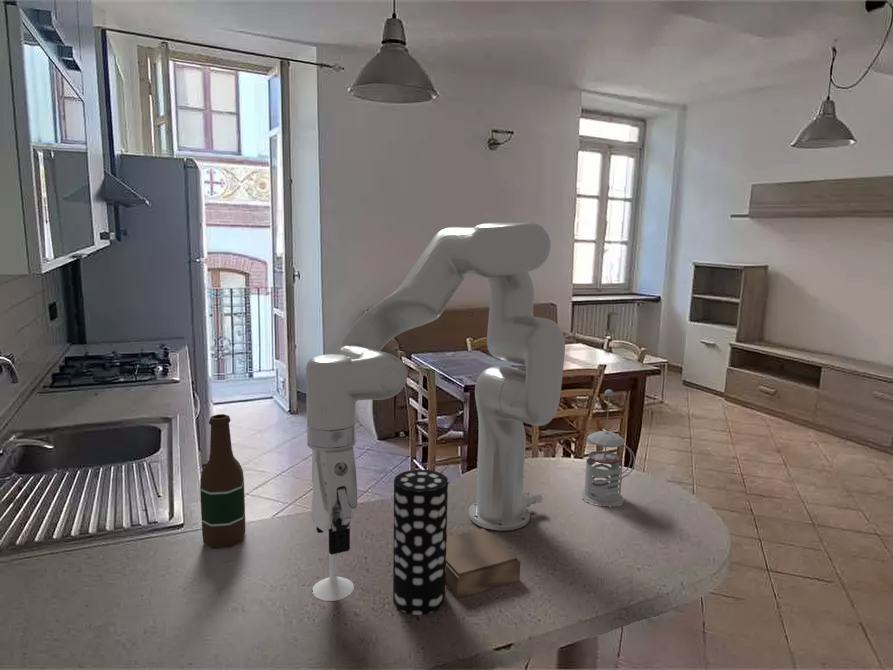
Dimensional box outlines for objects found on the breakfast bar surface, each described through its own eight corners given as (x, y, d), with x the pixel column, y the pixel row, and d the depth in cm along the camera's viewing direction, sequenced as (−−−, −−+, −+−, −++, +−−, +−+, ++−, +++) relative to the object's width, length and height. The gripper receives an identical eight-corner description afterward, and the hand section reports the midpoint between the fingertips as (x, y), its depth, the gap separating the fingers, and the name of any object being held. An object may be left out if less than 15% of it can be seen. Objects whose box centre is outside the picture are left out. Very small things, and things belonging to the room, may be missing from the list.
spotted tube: (396, 582, 98) (397, 468, 94) (446, 584, 97) (448, 470, 94) (389, 614, 89) (390, 490, 86) (444, 616, 89) (447, 492, 86)
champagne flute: (308, 600, 92) (305, 455, 88) (316, 576, 99) (314, 440, 95) (351, 601, 92) (350, 456, 89) (356, 576, 99) (356, 441, 95)
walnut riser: (483, 546, 110) (484, 526, 109) (519, 580, 99) (520, 558, 98) (425, 561, 104) (425, 540, 104) (457, 598, 94) (457, 575, 93)
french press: (573, 488, 136) (580, 384, 132) (621, 487, 137) (629, 384, 133) (588, 508, 127) (595, 395, 122) (639, 506, 128) (648, 395, 124)
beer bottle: (232, 552, 106) (226, 424, 102) (193, 546, 107) (187, 420, 103) (254, 531, 113) (250, 411, 110) (218, 526, 115) (212, 408, 111)
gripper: (373, 448, 85) (373, 562, 88) (338, 416, 101) (339, 513, 104) (322, 456, 82) (324, 574, 85) (294, 421, 97) (296, 522, 100)
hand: (332, 540), depth 94 cm, fingers closed on champagne flute, 6 cm apart
